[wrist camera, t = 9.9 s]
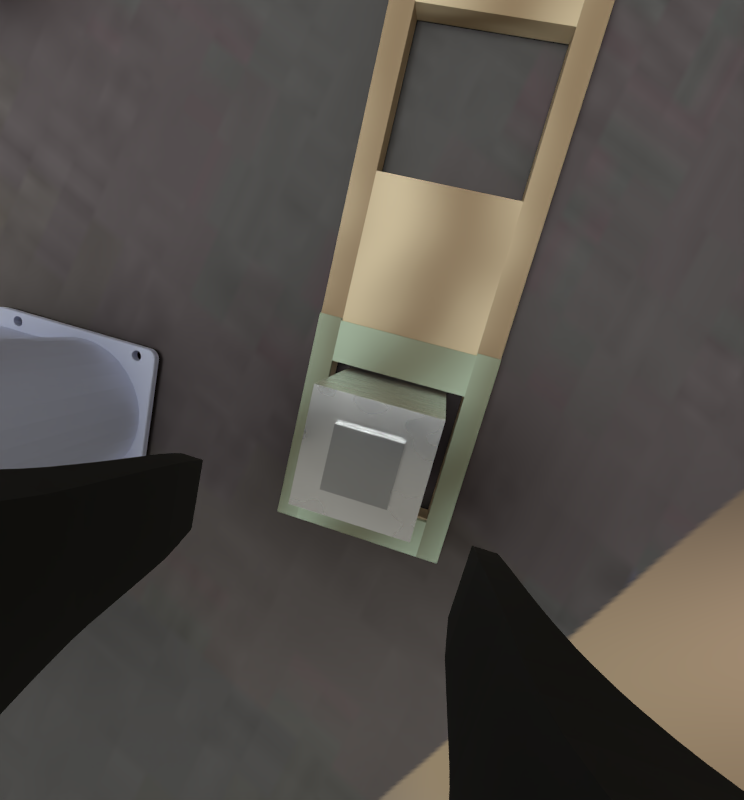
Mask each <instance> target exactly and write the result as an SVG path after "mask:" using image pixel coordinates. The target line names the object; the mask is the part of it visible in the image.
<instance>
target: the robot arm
mask: <svg viewBox="0 0 744 800" xmlns="http://www.w3.org/2000/svg"><path fill="white" fill-rule="evenodd" d="M21 319H22V322H21ZM138 351H139V352H140V354H141V359H139V358H138V355H137V354H138ZM158 363H159V356H158V354H157V352H156V351H155V350H154V349H152V348H149V347H145V346H142V345H138V344H135V343H131V342H128V341H124V340H121V339H117V338H114V337H111V336H107V335H104V334H100V333H97V332H93V331H90V330H86V329H83V328H79V327H76V326H72V325H69V324H65V323H62V322H58V321H55V320H51V319H48V318H45V317H41V316H38V315H34V314H31V313H27V312H24V311H20V310H17V309H13V308H10V307H0V714H1V713H2V712H3V711H4V710H5V709H6V708H7V706H8V705H9V704H10V703H11V702H12V701H13V700H14V699H15V698H16V697H17V696H18V695H19V694H20V693H21V691H22V690H23V689H24V688H25V687H26V686H27V685H28V684H29V683H30V682H31V681H32V680H33V679H34V678H35V677H36V676H37V675H38V674H39V673H40V672H41V670H42V669H43V668H44V667H45V666H46V665H47V664H48V663H49V662H50V661H51V660H52V659H53V658H54V657H55V656H56V655H57V654H58V653H59V652H60V651H61V650H62V649H63V648H64V647H65V646H66V645H67V644H68V643H69V642H70V641H71V640H72V639H73V638H74V637H75V636H76V635H77V634H79V633H80V632H81V631H82V630H83V629H84V628H85V627H86V626H87V625H88V624H89V623H91V622H92V621H93V620H94V619H95V618H96V617H98V616H99V615H100V614H101V613H102V612H104V611H105V610H106V609H107V608H108V607H109V606H111V605H112V604H113V603H114V602H115V601H116V600H118V599H119V598H120V597H121V596H122V595H123V594H125V593H126V592H127V591H128V590H129V589H131V588H132V587H133V586H134V585H135V584H136V583H138V582H139V581H140V580H141V579H142V578H143V577H145V576H146V575H147V574H148V573H149V572H150V571H151V570H153V569H154V568H155V567H156V566H157V565H158V564H159V563H161V562H162V561H163V560H164V559H165V558H166V557H167V556H168V555H169V554H170V553H171V552H172V550H173V549H174V548H175V547H176V546H177V545H178V544H179V543H180V541H181V540H182V539H183V538H184V537H185V536H186V534H187V533H188V532H189V531H190V530H191V527H192V521H193V515H194V510H195V504H196V498H197V492H198V486H199V480H200V474H201V468H202V462H203V460H201V459H198V458H195V457H191V456H188V455H185V454H182V453H171V454H158V455H148V456H146V452H147V445H148V437H149V430H150V423H151V415H152V408H153V400H154V393H155V385H156V378H157V371H158ZM445 670H446V696H447V718H448V741H449V761H450V762H449V763H450V764H449V765H450V766H449V767H450V792H449V793H450V794H449V800H744V791H743V790H741V789H740V788H738V787H737V786H736V785H735V784H733V783H732V782H731V781H729V780H728V779H727V778H725V777H724V776H722V775H721V774H720V773H719V772H717V771H716V770H714V769H713V768H712V767H710V766H709V765H707V764H706V763H705V762H704V761H702V760H701V759H700V758H699V757H697V756H696V755H695V754H693V753H692V752H691V751H690V750H689V749H687V748H686V747H685V746H683V745H682V744H681V743H680V742H678V741H677V740H676V739H675V738H673V737H672V736H671V735H670V734H669V733H667V732H666V731H665V730H664V729H663V728H662V727H660V726H659V725H658V724H657V723H656V722H655V721H653V720H652V719H651V718H650V717H649V716H647V715H646V714H645V713H644V712H642V710H640V709H639V708H638V707H637V706H636V705H635V704H633V703H632V702H631V701H630V700H629V699H628V698H627V697H626V696H624V695H623V694H622V693H621V692H620V691H619V690H618V689H617V688H616V687H615V686H614V685H613V684H612V683H611V682H610V681H609V680H607V679H606V678H605V677H604V676H603V675H602V674H601V673H600V672H599V671H598V670H597V669H596V668H595V667H594V666H593V665H592V664H591V663H590V662H589V661H588V660H587V659H586V658H585V657H584V656H583V655H582V654H581V653H580V652H579V651H578V650H577V649H576V648H575V647H574V645H573V644H572V643H571V642H570V641H569V640H568V639H567V638H566V636H565V635H564V634H563V633H562V632H561V631H560V630H559V629H558V628H557V626H556V625H555V624H554V623H553V622H552V621H551V619H550V618H549V617H548V616H547V615H546V614H545V612H544V611H543V610H542V609H541V608H540V606H539V605H538V604H537V603H536V601H535V600H534V599H533V598H532V596H531V595H530V594H529V593H528V591H527V590H526V589H525V588H524V586H523V585H522V584H521V582H520V581H519V580H518V578H517V577H516V576H515V575H514V573H513V572H512V571H511V569H510V568H509V567H508V566H507V564H506V563H505V562H504V561H503V560H502V558H501V557H500V556H499V555H498V554H496V553H493V552H490V551H487V550H484V549H481V548H477V547H474V546H472V548H471V551H470V554H469V557H468V560H467V563H466V566H465V569H464V572H463V575H462V578H461V581H460V584H459V587H458V590H457V593H456V596H455V599H454V602H453V605H452V608H451V611H450V614H449V617H448V627H447V638H446V652H445Z"/></svg>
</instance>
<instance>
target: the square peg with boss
mask: <svg viewBox="0 0 744 800" xmlns="http://www.w3.org/2000/svg"><path fill="white" fill-rule="evenodd" d="M445 421H446V392H445V391H442V390H438V389H434V388H431V387H427V386H423V385H420V384H416V383H412V382H409V381H405V380H402V379H398V378H394V377H391V376H387V375H383V374H380V373H376V372H372V371H369V370H365V369H362V368H358V367H354V366H352V367H350V368H348V369H345V370H343V371H341V372H339V373H337V374H334V375H332V376H330V377H328V378H326V379H323V380H321V381H319V382H317V383H315V384H314V387H313V391H312V396H311V401H310V405H309V410H308V415H307V419H306V424H305V429H304V433H303V438H302V443H301V447H300V452H299V456H298V461H297V466H296V470H295V475H294V480H293V484H292V489H291V494H290V498H289V503H288V504H290V505H293V506H297V507H300V508H303V509H306V510H309V511H312V512H315V513H319V514H322V515H325V516H328V517H331V518H334V519H337V520H340V521H344V522H347V523H350V524H353V525H356V526H359V527H362V528H366V529H369V530H372V531H375V532H378V533H381V534H384V535H387V536H391V537H394V538H397V539H400V540H403V541H406V542H409V543H410V541H411V537H412V534H413V530H414V527H415V523H416V520H417V517H418V513H419V510H420V506H421V503H422V499H423V496H424V493H425V489H426V486H427V482H428V479H429V475H430V472H431V469H432V465H433V462H434V458H435V455H436V451H437V448H438V445H439V441H440V438H441V434H442V431H443V427H444V424H445Z"/></svg>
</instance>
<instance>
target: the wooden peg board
mask: <svg viewBox="0 0 744 800" xmlns="http://www.w3.org/2000/svg"><path fill="white" fill-rule="evenodd" d="M614 1H615V0H389V3H388V7H387V12H386V16H385V21H384V26H383V30H382V35H381V40H380V44H379V49H378V53H377V58H376V63H375V67H374V72H373V77H372V81H371V86H370V90H369V95H368V100H367V104H366V109H365V114H364V118H363V123H362V127H361V132H360V137H359V141H358V146H357V151H356V155H355V160H354V164H353V169H352V174H351V178H350V183H349V188H348V192H347V197H346V201H345V206H344V211H343V215H342V220H341V225H340V229H339V234H338V238H337V243H336V248H335V252H334V257H333V262H332V266H331V271H330V275H329V280H328V285H327V289H326V294H325V299H324V303H323V308H322V312H321V313H320V315H319V320H318V325H317V329H316V334H315V339H314V343H313V348H312V353H311V357H310V362H309V366H308V371H307V376H306V380H305V385H304V390H303V394H302V399H301V404H300V408H299V413H298V417H297V422H296V427H295V431H294V436H293V441H292V445H291V450H290V455H289V459H288V464H287V469H286V473H285V478H284V482H283V487H282V492H281V496H280V501H279V506H278V510H277V511H278V512H281V513H284V514H287V515H290V516H293V517H296V518H299V519H302V520H305V521H308V522H311V523H314V524H317V525H320V526H324V527H327V528H330V529H333V530H336V531H339V532H342V533H345V534H348V535H351V536H354V537H357V538H360V539H363V540H366V541H369V542H372V543H375V544H378V545H381V546H384V547H387V548H390V549H393V550H397V551H400V552H403V553H406V554H409V555H412V556H415V557H418V558H421V559H424V560H427V561H430V562H433V563H436V564H437V561H438V558H439V555H440V552H441V548H442V545H443V542H444V539H445V536H446V533H447V530H448V526H449V523H450V520H451V517H452V514H453V511H454V508H455V504H456V501H457V498H458V495H459V492H460V489H461V485H462V482H463V479H464V476H465V473H466V470H467V467H468V463H469V460H470V457H471V454H472V451H473V448H474V445H475V441H476V438H477V435H478V432H479V429H480V426H481V423H482V419H483V416H484V413H485V410H486V407H487V404H488V401H489V397H490V394H491V391H492V388H493V385H494V382H495V378H496V375H497V372H498V369H499V366H500V363H501V357H502V354H503V351H504V348H505V345H506V342H507V338H508V335H509V332H510V329H511V326H512V323H513V320H514V316H515V313H516V310H517V307H518V304H519V301H520V298H521V294H522V291H523V288H524V285H525V282H526V279H527V275H528V272H529V269H530V266H531V263H532V260H533V257H534V253H535V250H536V247H537V244H538V241H539V238H540V235H541V231H542V228H543V225H544V222H545V219H546V216H547V212H548V209H549V206H550V203H551V200H552V197H553V194H554V190H555V187H556V184H557V181H558V178H559V175H560V171H561V168H562V165H563V162H564V159H565V156H566V153H567V149H568V146H569V143H570V140H571V137H572V134H573V131H574V127H575V124H576V121H577V118H578V115H579V112H580V108H581V105H582V102H583V99H584V96H585V93H586V90H587V86H588V83H589V80H590V77H591V74H592V71H593V68H594V64H595V61H596V58H597V55H598V52H599V49H600V45H601V42H602V39H603V36H604V33H605V30H606V27H607V23H608V20H609V17H610V14H611V11H612V8H613V5H614ZM417 20H422V21H428V22H434V23H440V24H446V25H452V26H458V27H464V28H471V29H477V30H483V31H489V32H495V33H501V34H507V35H514V36H520V37H526V38H532V39H538V40H544V41H550V42H556V43H563V44H569V46H568V49H567V52H566V56H565V59H564V62H563V66H562V69H561V72H560V75H559V79H558V82H557V85H556V89H555V92H554V95H553V99H552V102H551V105H550V109H549V112H548V115H547V118H546V122H545V125H544V128H543V132H542V135H541V138H540V142H539V145H538V148H537V151H536V155H535V158H534V161H533V165H532V168H531V171H530V175H529V178H528V181H527V184H526V188H525V191H524V194H523V198H522V201H518V200H513V199H508V198H503V197H499V196H494V195H489V194H485V193H480V192H475V191H470V190H466V189H461V188H456V187H452V186H447V185H442V184H437V183H433V182H428V181H423V180H419V179H414V178H409V177H404V176H400V175H395V174H390V173H386V172H382V169H383V165H384V161H385V156H386V152H387V148H388V143H389V139H390V135H391V130H392V126H393V122H394V117H395V113H396V109H397V104H398V100H399V96H400V91H401V87H402V83H403V78H404V74H405V70H406V65H407V61H408V57H409V52H410V48H411V44H412V39H413V35H414V31H415V26H416V22H417ZM338 362H340V363H343V364H347V365H351V366H354V367H358V368H362V369H365V370H369V371H372V372H376V373H380V374H383V375H387V376H391V377H394V378H398V379H402V380H405V381H409V382H412V383H416V384H420V385H423V386H427V387H431V388H434V389H438V390H442V391H445V392H449V393H452V394H456V395H460V396H462V399H461V402H460V406H459V409H458V412H457V416H456V419H455V422H454V426H453V429H452V432H451V435H450V439H449V442H448V445H447V449H446V452H445V455H444V459H443V462H442V465H441V468H440V472H439V475H438V478H437V482H436V485H435V488H434V492H433V495H432V498H431V502H430V505H429V508H428V510H427V509H424V508H421V507H420V510H419V513H418V517H417V520H416V523H415V527H414V530H413V534H412V537H411V541H410V543H409V542H406V541H403V540H400V539H397V538H394V537H391V536H387V535H384V534H381V533H378V532H375V531H372V530H369V529H366V528H362V527H359V526H356V525H353V524H350V523H347V522H344V521H340V520H337V519H334V518H331V517H328V516H325V515H322V514H319V513H315V512H312V511H309V510H306V509H303V508H300V507H297V506H293V505H290V504H288V503H289V498H290V494H291V489H292V484H293V480H294V475H295V470H296V466H297V461H298V456H299V452H300V447H301V443H302V438H303V433H304V429H305V424H306V419H307V415H308V410H309V405H310V401H311V396H312V391H313V387H314V384H315V383H317V382H319V381H321V380H323V379H326V378H328V377H330V376H332V375H334V374H335V373H336V369H337V364H338Z"/></svg>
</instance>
